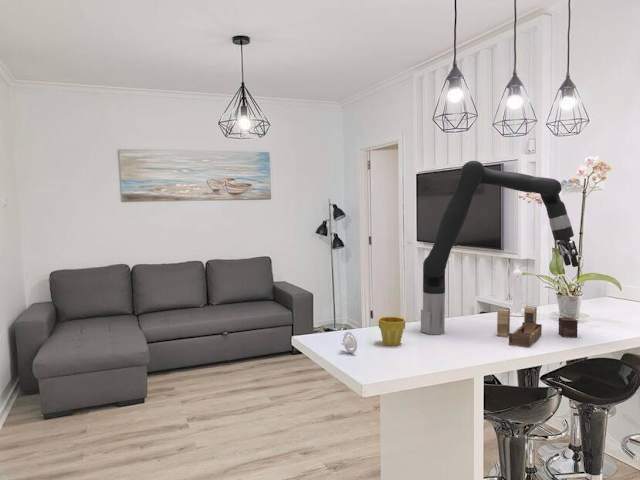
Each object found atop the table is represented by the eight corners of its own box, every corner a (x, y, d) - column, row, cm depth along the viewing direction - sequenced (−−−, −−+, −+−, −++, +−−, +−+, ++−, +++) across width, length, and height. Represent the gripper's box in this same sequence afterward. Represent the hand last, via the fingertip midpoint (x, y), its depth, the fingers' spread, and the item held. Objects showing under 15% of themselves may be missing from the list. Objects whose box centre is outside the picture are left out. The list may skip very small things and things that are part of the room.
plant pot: (402, 348, 194) (402, 322, 194) (375, 345, 198) (375, 320, 197) (407, 341, 204) (407, 317, 203) (381, 339, 208) (382, 315, 207)
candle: (525, 314, 257) (526, 265, 255) (522, 317, 251) (523, 266, 249) (510, 313, 261) (511, 264, 259) (507, 315, 255) (508, 265, 253)
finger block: (507, 337, 211) (507, 311, 210) (497, 336, 213) (497, 310, 213) (509, 335, 215) (510, 309, 214) (499, 334, 217) (500, 308, 216)
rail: (529, 347, 195) (530, 316, 194) (508, 344, 199) (509, 314, 198) (541, 335, 215) (542, 306, 214) (522, 332, 219) (523, 304, 218)
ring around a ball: (360, 354, 186) (360, 332, 185) (348, 357, 183) (348, 335, 182) (347, 349, 192) (347, 328, 192) (335, 351, 189) (335, 330, 189)
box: (577, 338, 210) (578, 320, 210) (561, 337, 211) (562, 319, 211) (573, 334, 216) (573, 317, 216) (558, 333, 217) (558, 316, 217)
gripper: (546, 229, 216) (556, 267, 215) (557, 229, 201) (568, 269, 201) (564, 225, 215) (575, 262, 214) (576, 224, 200) (588, 264, 200)
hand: (572, 265), depth 208 cm, fingers open, 8 cm apart
